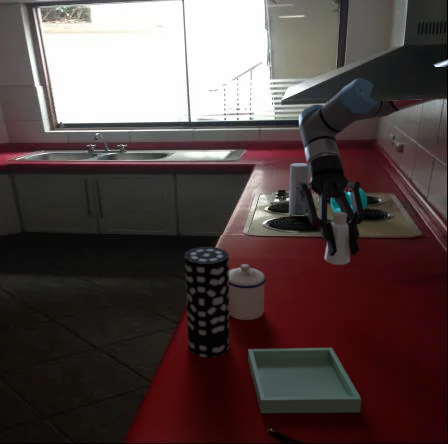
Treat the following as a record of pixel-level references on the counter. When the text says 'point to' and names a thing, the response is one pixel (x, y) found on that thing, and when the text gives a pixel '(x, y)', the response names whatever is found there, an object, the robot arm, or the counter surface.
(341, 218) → the salt shaker
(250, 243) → the counter surface
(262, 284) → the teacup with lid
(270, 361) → the tray
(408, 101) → the robot arm
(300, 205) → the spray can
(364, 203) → the turquoise dumbbell
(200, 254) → the white-spotted black cylinder
